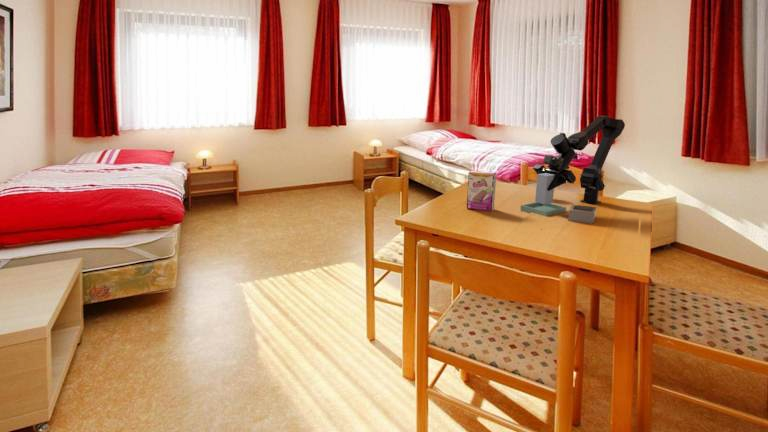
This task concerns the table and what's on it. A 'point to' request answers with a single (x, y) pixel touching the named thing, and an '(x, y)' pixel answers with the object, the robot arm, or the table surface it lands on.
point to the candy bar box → (481, 190)
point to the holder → (582, 214)
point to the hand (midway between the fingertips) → (542, 189)
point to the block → (544, 188)
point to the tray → (542, 208)
